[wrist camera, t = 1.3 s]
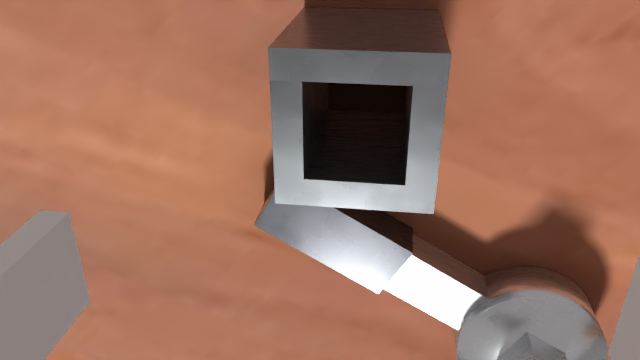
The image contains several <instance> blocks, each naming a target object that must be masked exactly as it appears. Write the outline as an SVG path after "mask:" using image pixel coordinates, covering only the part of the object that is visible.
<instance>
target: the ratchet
mask: <svg viewBox="0 0 640 360" xmlns="http://www.w3.org/2000/svg"><path fill="white" fill-rule="evenodd" d="M254 225H255V226H257V227H259V228H260V229H262V230H264V231H266V232H267V233H269V234H271V235H273V236H275V237H276V238H278V239H280V240H282V241H284V242H285V243H287V244H289V245H291V246H293V247H294V248H296V249H298V250H300V251H302V252H303V253H305V254H307V255H309V256H311V257H312V258H314V259H316V260H318V261H319V262H321V263H323V264H325V265H327V266H328V267H330V268H332V269H334V270H336V271H337V272H339V273H341V274H343V275H345V276H346V277H348V278H350V279H352V280H354V281H355V282H357V283H359V284H361V285H363V286H364V287H366V288H368V289H370V290H371V291H373V292H375V293H377V294H379V293H380V292H381V291H382V290H383V289H385V290H387V291H389V292H390V293H392V294H394V295H396V296H398V297H399V298H401V299H403V300H405V301H406V302H408V303H410V304H412V305H414V306H415V307H417V308H419V309H421V310H423V311H424V312H426V313H428V314H430V315H431V316H433V317H435V318H437V319H439V320H440V321H442V322H444V323H446V324H448V325H449V326H451V327H453V328H454V334H455V343H456V351H457V360H606V359H607V343H606V340H605V337H604V334H603V332H602V330H601V328H600V325H599V323H598V321H597V319H596V317H595V314H594V312H593V310H592V308H591V306H590V303H589V301H588V299H587V297H586V295H585V294H584V292H583V291H582V290H581V288H580V287H579V286H578V285H577V284H576V283H575V282H573V281H572V280H571V279H569V278H568V277H566V276H564V275H562V274H560V273H558V272H555V271H553V270H550V269H545V268H541V267H534V266H517V267H509V268H504V269H500V270H497V271H494V272H491V273H489V274H486V275H485V276H484V275H483V274H481V273H479V272H478V271H476V270H474V269H472V268H471V267H469V266H467V265H465V264H464V263H462V262H460V261H459V260H457V259H455V258H453V257H452V256H450V255H448V254H446V253H445V252H443V251H441V250H440V249H438V248H436V247H434V246H433V245H431V244H429V243H428V242H426V241H424V240H422V239H421V238H419V237H417V236H415V235H414V234H413V228H411V227H409V226H407V225H406V224H404V223H402V222H401V221H399V220H397V219H395V218H394V217H392V216H390V215H389V214H387V213H385V212H383V211H380V210H365V209H351V208H336V207H321V206H307V205H292V204H277V203H275V189H274V188H273V189H272V191H271V193H270V194H269V196H268V197H267V199H266V201H265V202H264V204H263V207H262V209H261V211H260V213H259V215H258V218H257V220H256V222H255V224H254Z"/></svg>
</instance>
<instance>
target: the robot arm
mask: <svg viewBox="0 0 640 360" xmlns="http://www.w3.org/2000/svg"><path fill="white" fill-rule="evenodd" d="M89 303H90V297H89V292H88V288H87V284H86V280H85V276H84V272H83V268H82V263H81V259H80V255H79V251H78V247H77V243H76V239H75V234H74V230H73V226H72V222H71V218H70V214H69V213H68V212H55V211H43V210H40V211H39V212H38V213H37V214H35V215H34V216H33V217H32V218H31V219H29V220H28V221H27V222H26V223H25V224H24V225H22V226H21V227H20V228H19V229H18V230H17V231H15V232H14V233H13V234H12V235H11V236H9V237H8V238H7V239H6V240H5V241H4V242H2V243H1V244H0V360H45V359H46V357H47V356H48V355H49V353H50V352H51V351H52V350H53V348H54V347H55V346H56V345H57V343H58V342H59V341H60V340H61V338H62V337H63V336H64V334H65V333H66V332H67V331H68V329H69V328H70V327H71V326H72V324H73V323H74V322H75V320H76V319H77V318H78V317H79V315H80V314H81V313H82V312H83V310H84V309H85V308H86V307H87V305H88V304H89ZM608 354H609V357H610V359H611V360H640V257H639V258H638V261H637V264H636V267H635V270H634V273H633V276H632V280H631V283H630V286H629V289H628V292H627V295H626V298H625V301H624V304H623V308H622V311H621V314H620V317H619V320H618V323H617V326H616V329H615V333H614V336H613V339H612V342H611V345H610V348H609V351H608Z"/></svg>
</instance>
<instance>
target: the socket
mask: <svg viewBox="0 0 640 360" xmlns="http://www.w3.org/2000/svg"><path fill="white" fill-rule="evenodd" d="M268 51H269V74H270V97H271V120H272V143H273V166H274V189H275V203H277V204H292V205H307V206H321V207H336V208H351V209H365V210H380V211H395V212H409V213H424V214H434V206H435V197H436V188H437V179H438V170H439V161H440V152H441V143H442V133H443V124H444V115H445V106H446V97H447V88H448V79H449V70H450V61H451V51H450V48H449V44H448V41H447V37H446V34H445V31H444V27H443V24H442V20H441V17H440V14H439V10H399V9H358V8H317V7H304V8H303V9H302V10H301V11H300V13H299V14H298V15H297V16H296V17H295V18H294V19H293V20H292V22H291V23H290V24H289V25H288V26H287V27H286V28H285V29H284V30H283V32H282V33H281V34H280V35H279V36H278V37H277V38H276V39H275V41H274V42H273V43H272V44H271V45H270V46H269V47H268ZM328 83H351V84H375V85H400V86H407V94H406V107H405V114H404V113H383V112H362V111H340V110H328Z"/></svg>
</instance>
